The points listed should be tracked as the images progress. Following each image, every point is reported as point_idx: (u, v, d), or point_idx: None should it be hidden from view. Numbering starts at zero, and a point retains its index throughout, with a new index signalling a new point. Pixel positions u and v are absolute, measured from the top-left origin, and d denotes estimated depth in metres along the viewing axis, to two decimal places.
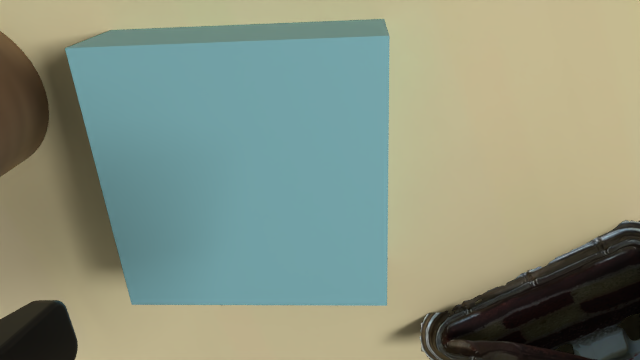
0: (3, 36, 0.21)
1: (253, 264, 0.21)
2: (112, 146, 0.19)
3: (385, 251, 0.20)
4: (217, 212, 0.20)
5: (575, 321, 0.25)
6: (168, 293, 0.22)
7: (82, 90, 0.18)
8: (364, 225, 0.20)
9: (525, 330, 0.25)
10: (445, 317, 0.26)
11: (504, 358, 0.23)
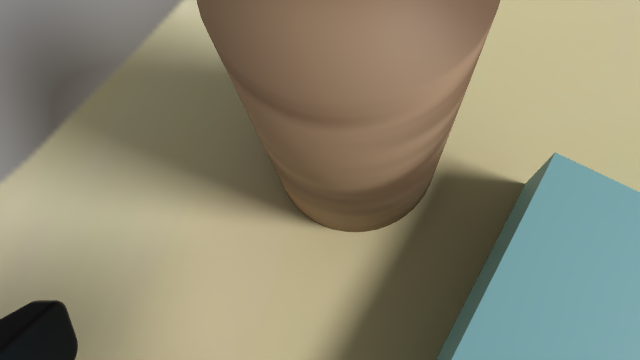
0: None
1: None
2: (535, 250, 0.17)
3: None
4: None
5: None
6: None
7: (544, 190, 0.18)
8: None
9: None
10: None
11: None
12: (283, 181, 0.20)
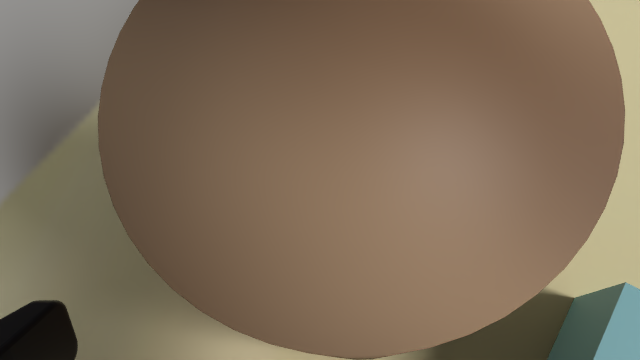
0: None
1: None
2: None
3: None
4: None
5: None
6: None
7: (613, 336, 0.13)
8: None
9: None
10: None
11: None
12: None
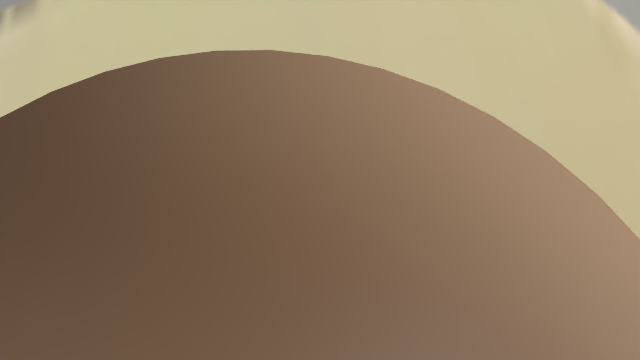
0: None
1: None
2: None
3: None
4: None
5: None
6: None
7: None
8: None
9: None
10: None
11: None
12: None
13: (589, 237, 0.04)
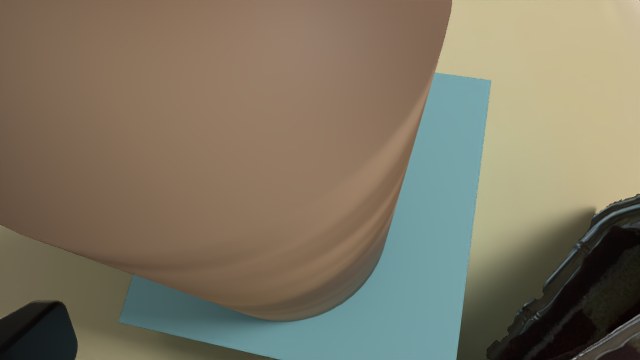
0: None
1: None
2: None
3: (460, 309, 0.16)
4: None
5: None
6: (172, 314, 0.17)
7: None
8: (439, 267, 0.17)
9: None
10: None
11: None
12: None
13: None
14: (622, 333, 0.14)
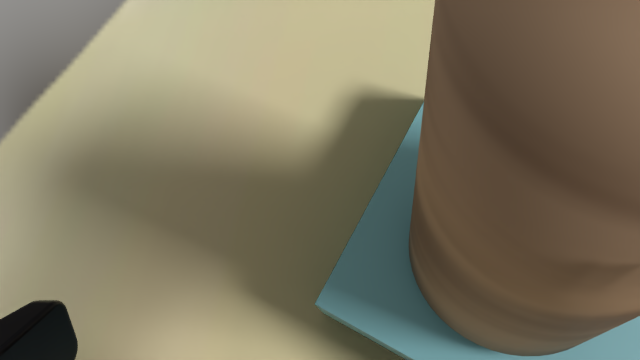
0: None
1: None
2: None
3: None
4: None
5: None
6: (367, 312, 0.18)
7: None
8: None
9: None
10: None
11: None
12: (432, 272, 0.14)
13: None
14: None
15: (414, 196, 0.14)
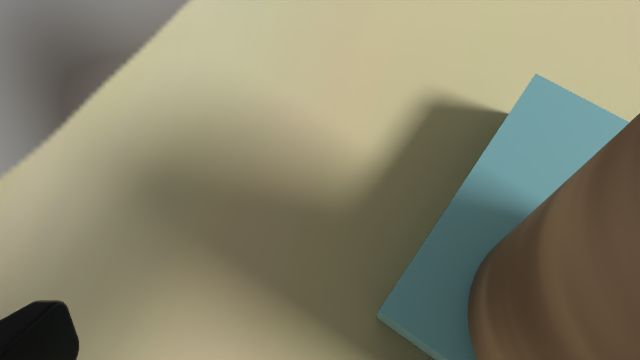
0: None
1: None
2: (508, 156, 0.19)
3: None
4: None
5: None
6: (432, 325, 0.17)
7: (521, 105, 0.20)
8: None
9: None
10: None
11: None
12: (516, 350, 0.13)
13: None
14: None
15: (518, 265, 0.13)
